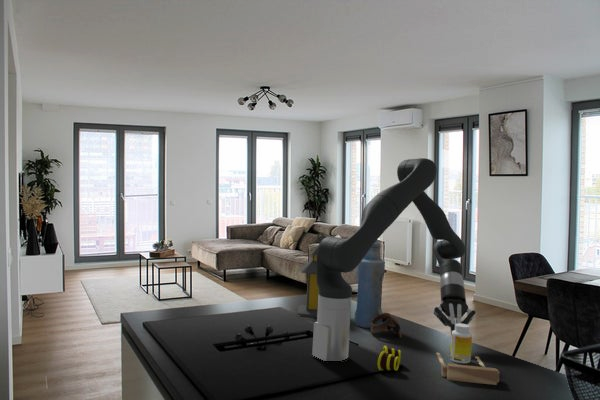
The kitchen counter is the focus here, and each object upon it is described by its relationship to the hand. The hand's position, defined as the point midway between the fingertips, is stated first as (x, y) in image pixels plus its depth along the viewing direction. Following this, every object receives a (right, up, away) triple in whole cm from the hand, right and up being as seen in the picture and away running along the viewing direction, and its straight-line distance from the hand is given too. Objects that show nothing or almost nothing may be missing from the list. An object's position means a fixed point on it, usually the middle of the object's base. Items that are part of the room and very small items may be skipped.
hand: (456, 337), depth 152 cm
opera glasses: (-23, -4, -16) cm, 28 cm away
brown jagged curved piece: (-18, -3, +16) cm, 24 cm away
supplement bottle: (-1, -5, -7) cm, 9 cm away
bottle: (-23, -3, +26) cm, 35 cm away
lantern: (-41, -2, +41) cm, 57 cm away
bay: (-2, -5, -13) cm, 14 cm away
